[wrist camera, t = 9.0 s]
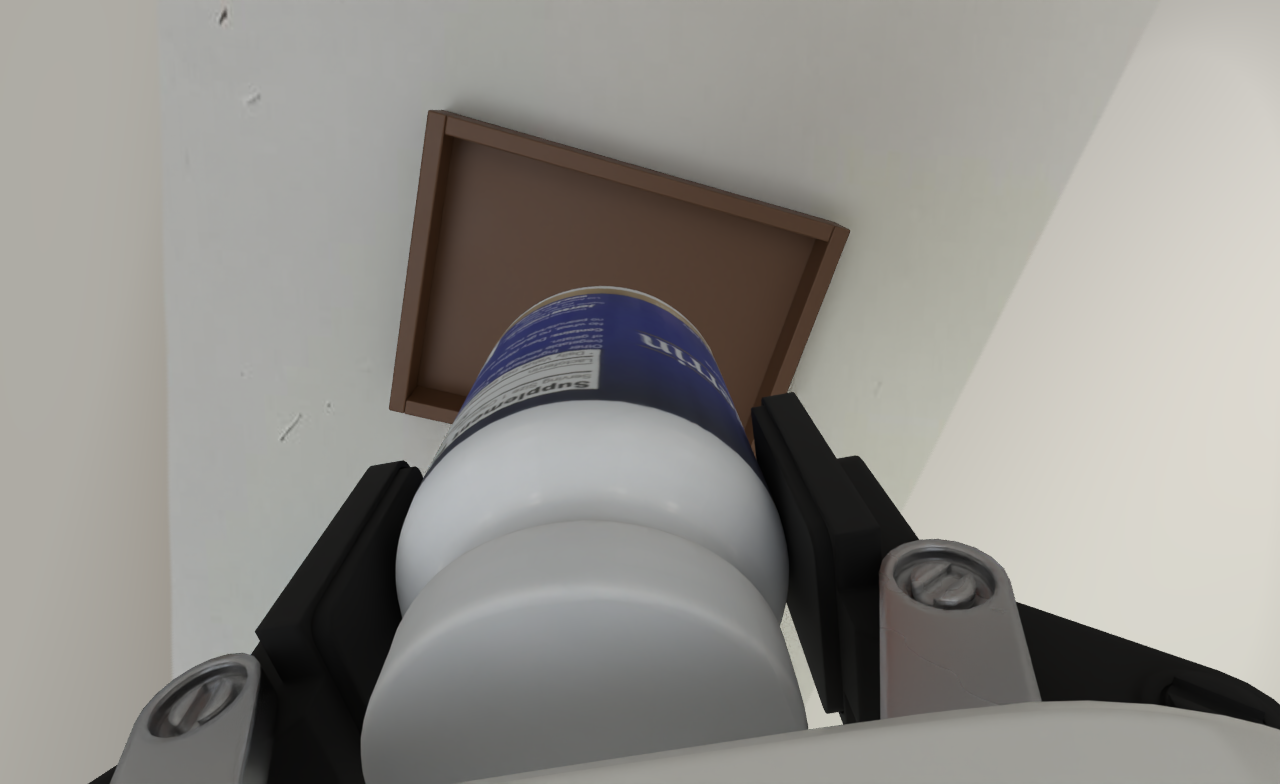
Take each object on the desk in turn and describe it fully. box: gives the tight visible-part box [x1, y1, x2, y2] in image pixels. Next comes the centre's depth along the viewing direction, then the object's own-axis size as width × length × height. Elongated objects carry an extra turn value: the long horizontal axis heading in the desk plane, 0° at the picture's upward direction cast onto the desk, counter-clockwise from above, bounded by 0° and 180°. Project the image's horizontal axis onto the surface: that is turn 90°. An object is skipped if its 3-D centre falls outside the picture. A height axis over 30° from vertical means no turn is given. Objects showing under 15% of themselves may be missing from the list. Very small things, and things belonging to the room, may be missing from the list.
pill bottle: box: [361, 286, 808, 784], centre depth 11 cm, size 6×6×10 cm
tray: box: [389, 110, 850, 458], centre depth 32 cm, size 20×15×2 cm
